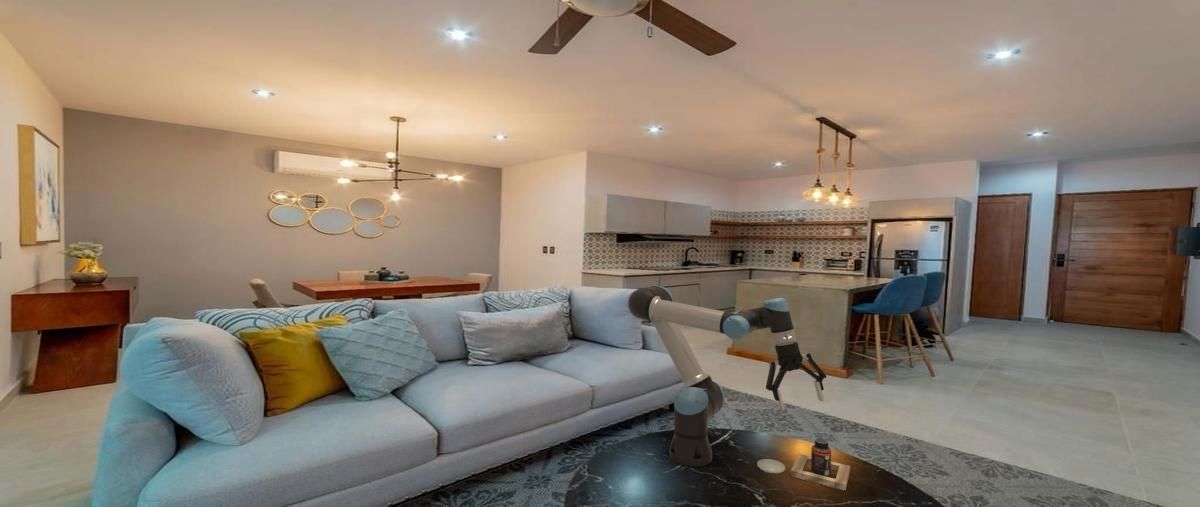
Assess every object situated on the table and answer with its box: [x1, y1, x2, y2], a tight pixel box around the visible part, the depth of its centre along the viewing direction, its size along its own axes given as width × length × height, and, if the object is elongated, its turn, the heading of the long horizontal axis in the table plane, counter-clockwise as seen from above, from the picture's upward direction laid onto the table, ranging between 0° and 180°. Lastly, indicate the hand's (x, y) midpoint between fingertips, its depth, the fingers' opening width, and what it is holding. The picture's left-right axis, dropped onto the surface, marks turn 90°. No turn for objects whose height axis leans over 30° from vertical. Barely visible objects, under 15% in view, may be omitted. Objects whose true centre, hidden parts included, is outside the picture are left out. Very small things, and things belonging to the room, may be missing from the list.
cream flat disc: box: [757, 458, 786, 475], centre depth 163 cm, size 9×9×1 cm
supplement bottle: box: [810, 437, 832, 478], centre depth 158 cm, size 6×6×11 cm
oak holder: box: [790, 453, 851, 491], centre depth 158 cm, size 16×14×2 cm
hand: (801, 405), depth 161 cm, fingers open, 13 cm apart
